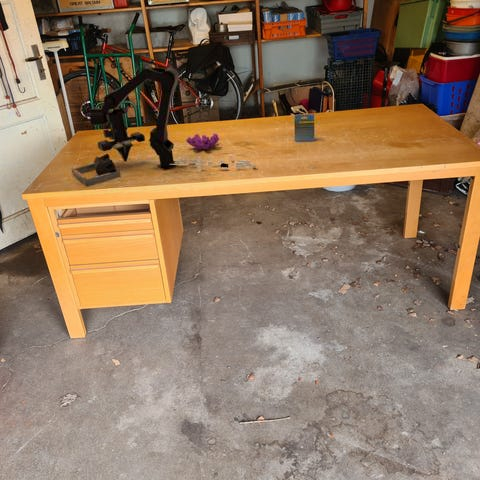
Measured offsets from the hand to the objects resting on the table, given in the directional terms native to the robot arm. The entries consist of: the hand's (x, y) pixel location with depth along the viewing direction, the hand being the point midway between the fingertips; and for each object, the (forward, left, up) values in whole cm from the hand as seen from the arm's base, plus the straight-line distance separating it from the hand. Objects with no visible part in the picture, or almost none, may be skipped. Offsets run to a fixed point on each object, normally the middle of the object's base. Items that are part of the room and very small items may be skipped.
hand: (125, 161), depth 194 cm
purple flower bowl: (-4, -36, -3) cm, 36 cm away
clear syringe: (-26, -27, -3) cm, 38 cm away
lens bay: (0, +13, -3) cm, 13 cm away
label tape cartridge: (-29, -75, -3) cm, 81 cm away
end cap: (-2, +9, -2) cm, 10 cm away
